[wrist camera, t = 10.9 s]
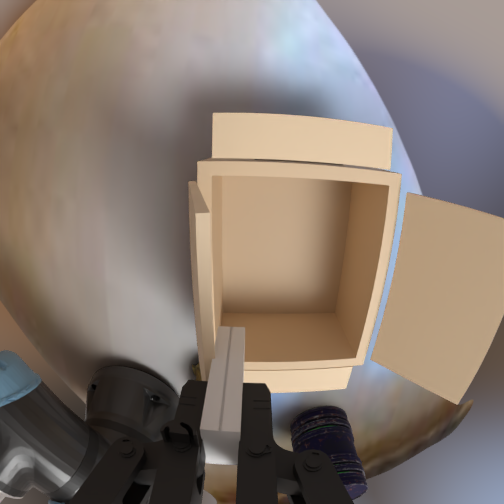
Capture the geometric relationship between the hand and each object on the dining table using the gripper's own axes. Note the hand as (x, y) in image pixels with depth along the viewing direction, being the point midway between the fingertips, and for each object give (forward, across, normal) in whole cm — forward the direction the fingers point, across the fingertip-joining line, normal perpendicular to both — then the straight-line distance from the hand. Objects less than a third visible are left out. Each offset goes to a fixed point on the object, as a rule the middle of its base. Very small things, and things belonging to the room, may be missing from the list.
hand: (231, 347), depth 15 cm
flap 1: (+7, -3, 0) cm, 8 cm away
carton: (+17, +4, 0) cm, 17 cm away
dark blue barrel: (+17, +13, -31) cm, 38 cm away
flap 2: (+8, +12, 0) cm, 15 cm away
